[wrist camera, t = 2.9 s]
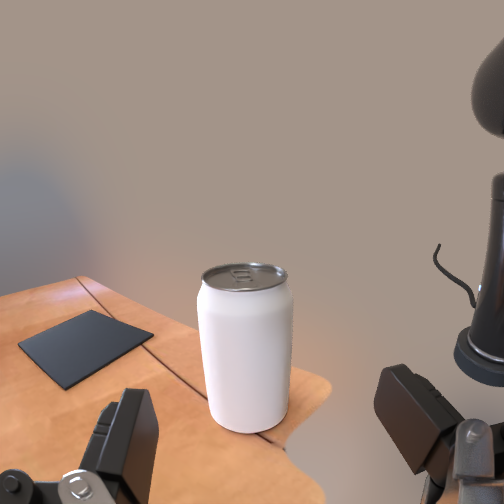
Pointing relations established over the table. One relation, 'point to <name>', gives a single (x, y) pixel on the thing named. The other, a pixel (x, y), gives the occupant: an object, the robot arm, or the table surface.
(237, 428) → the can
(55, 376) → the desk mat
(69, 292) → the table surface
